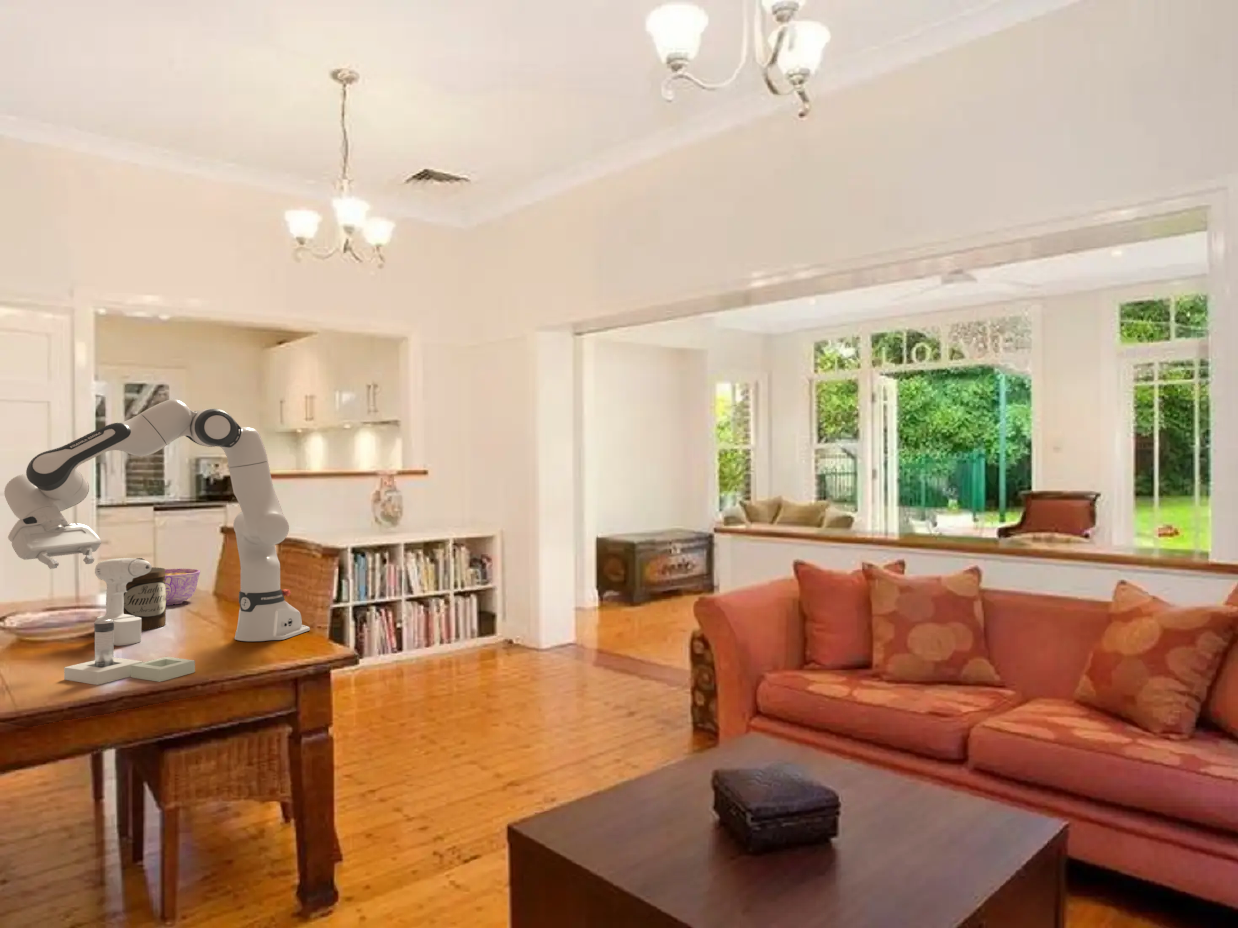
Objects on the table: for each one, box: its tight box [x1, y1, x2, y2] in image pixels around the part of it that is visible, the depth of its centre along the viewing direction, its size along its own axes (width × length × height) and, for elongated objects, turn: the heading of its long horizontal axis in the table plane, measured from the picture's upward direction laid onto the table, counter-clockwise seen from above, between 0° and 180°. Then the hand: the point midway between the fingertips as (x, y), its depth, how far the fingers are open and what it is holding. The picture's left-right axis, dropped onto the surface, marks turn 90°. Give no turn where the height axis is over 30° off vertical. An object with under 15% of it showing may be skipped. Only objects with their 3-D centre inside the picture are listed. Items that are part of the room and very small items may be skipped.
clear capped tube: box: [93, 619, 115, 668], centre depth 211 cm, size 4×4×14 cm
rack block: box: [130, 656, 196, 683], centre depth 213 cm, size 10×10×3 cm
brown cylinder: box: [124, 557, 167, 631], centre depth 272 cm, size 15×15×22 cm
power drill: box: [94, 557, 152, 647], centre depth 248 cm, size 8×24×25 cm, turn 58°
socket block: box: [63, 656, 144, 686], centre depth 211 cm, size 12×12×3 cm
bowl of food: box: [164, 568, 201, 606], centre depth 314 cm, size 20×20×12 cm
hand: (73, 564), depth 218 cm, fingers open, 8 cm apart
